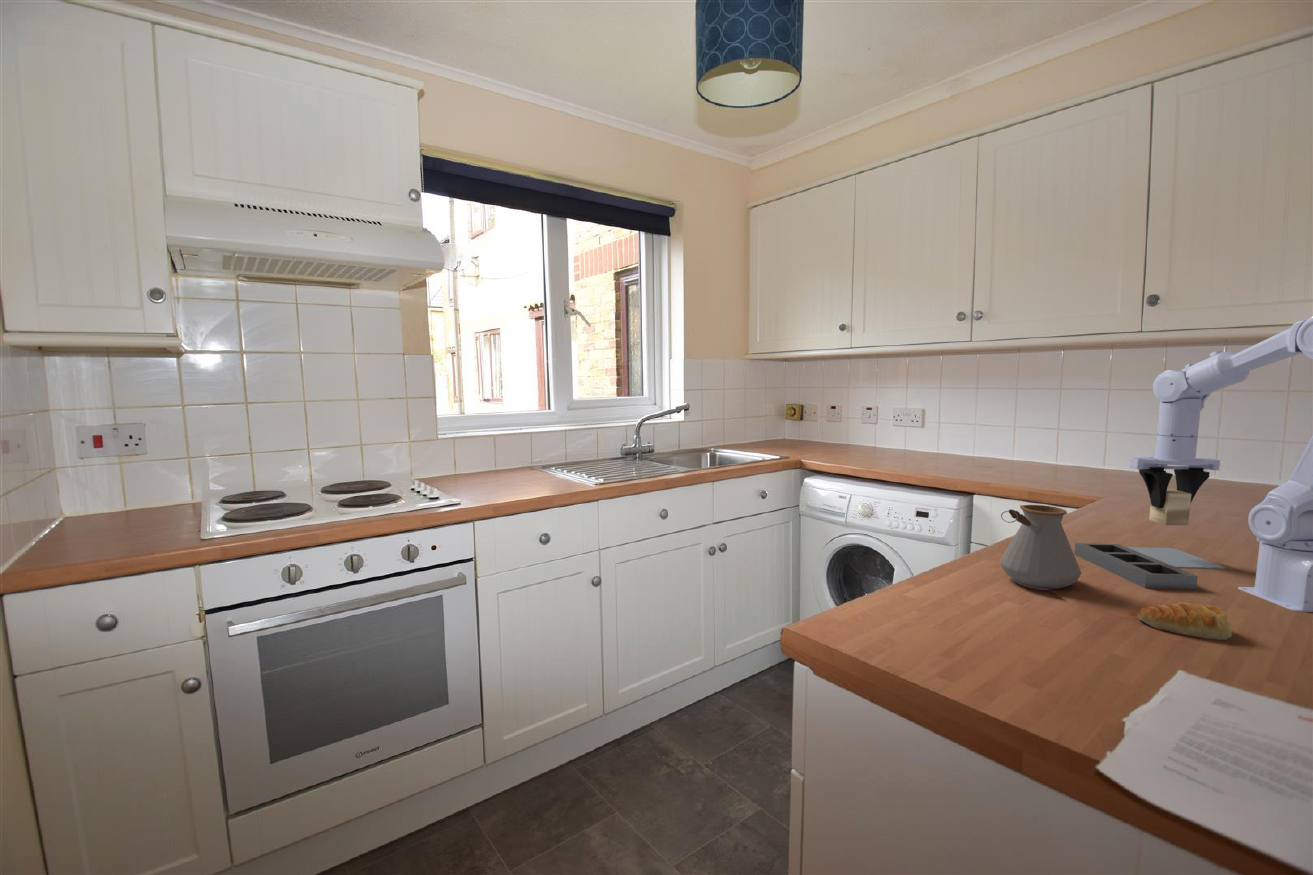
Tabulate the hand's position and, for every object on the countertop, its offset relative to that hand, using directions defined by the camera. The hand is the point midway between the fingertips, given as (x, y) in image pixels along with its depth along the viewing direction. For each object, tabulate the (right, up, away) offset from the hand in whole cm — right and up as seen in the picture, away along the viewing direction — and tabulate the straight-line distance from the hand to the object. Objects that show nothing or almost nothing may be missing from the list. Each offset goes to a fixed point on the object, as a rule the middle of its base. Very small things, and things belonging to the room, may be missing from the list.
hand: (1170, 507), depth 111 cm
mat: (0, -10, +1) cm, 10 cm away
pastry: (-23, -14, -29) cm, 40 cm away
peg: (0, -3, 0) cm, 3 cm away
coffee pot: (-36, -12, -14) cm, 41 cm away
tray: (-12, -11, -6) cm, 18 cm away
